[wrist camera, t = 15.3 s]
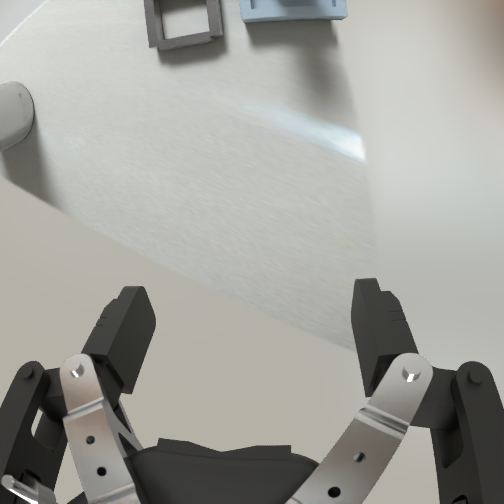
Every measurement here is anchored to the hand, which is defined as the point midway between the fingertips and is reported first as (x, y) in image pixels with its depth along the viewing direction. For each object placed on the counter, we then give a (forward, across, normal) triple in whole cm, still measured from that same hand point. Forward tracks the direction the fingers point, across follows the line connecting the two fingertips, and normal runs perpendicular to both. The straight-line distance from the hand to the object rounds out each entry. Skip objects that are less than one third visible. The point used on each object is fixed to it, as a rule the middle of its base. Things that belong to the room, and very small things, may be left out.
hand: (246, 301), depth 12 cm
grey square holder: (+26, +7, -15) cm, 31 cm away
